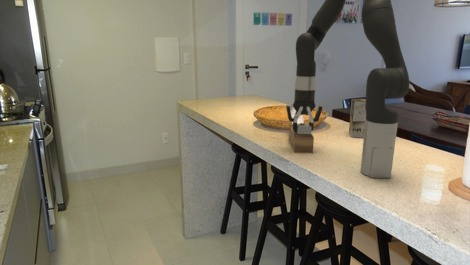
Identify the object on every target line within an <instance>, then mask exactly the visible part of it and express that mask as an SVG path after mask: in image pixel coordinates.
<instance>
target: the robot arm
mask: <svg viewBox="0 0 470 265" xmlns="http://www.w3.org/2000/svg"><path fill="white" fill-rule="evenodd" d="M346 1H347V0H324V2H323V3H322V5H321V7H320V8H319V9H318V11H317V12H316V13H315V14H314V17H313V18H312V20H311V24H310V26H309V28H308V29H307V31H306V32H304V33H301V34H299V35H298V37H297V39H296V43H295V56H296V57H295V58H296V73H295V74H296V75H295V82H294V101H293V103H292V104H290V105H288V104H287V105H285V109H286V114H287V118H288V119H287V120H288V121H289V122H291V123H292V122H293V131H294V132H297V120H298V118H299V116H300V115H303V116H304V115H305V116H307V117H308V119H309V122H308V124H309V125H310V126H312V129H311V132H313V131H314V123H316V122H319V121H320V116H321V114H322V111H323V106H321V105H317V104H316V103H315V99H316V98H315V97H316V88H317V87H316V84H317V82H316V73H317V70H316V69H317V64H316V63H317V62H316V61H315V55H316V54H315V53H316V52H315V51H317V49H318V48H319V47H320V45H321V43H322V42H323V40H324V38H325V37H326V35H327V33H328V31H330V29H331V28H332V27H333V25H334V24H335V23H336V21H337V19H338V18H339V17H340V15H341V14H342V12H343V9H344V7H345V4H346ZM361 21H362V26H363V32H364V35H365V37H366V39H367V40H368V41H369V43H370V44H371V45H372V46H373V47H374V49H375V50H376V51H377V52H378V54H380V56H381V58H382V59H383V63H384V65H385V67H378V68H372V69H371V71H370V72H369V73H368V76H367V79H366V87H365V88H366V89H365V99H366V103H365V110H366V122H365V131H364V138H363V143H362V151H361V161H360V170H359V171H360V173H361V174H363V175H364V176H367V177H369V178H370V179H371V178H372V179H374V178H375V179H378V178H379V179H391V177H392V170H393V165H394V164H393V163H394V154H395V148H396V147H395V146H396V139H397V132H398V125H399V113H398V111H396V110H393V109H390V108H388V107H387V106H386V100H389V99H390V100H393V99H402V98H405V97H406V96H407V94H408V92H409V90H410V76H409V72H408V69H407V65H406V62H405V59H404V56H403V52H402V49H401V45H400V41H399V36H398V30H397V25H396V19H395V14H394V9H393V5H392V0H364V1H363V4H362V9H361ZM293 107H294V109H295V110H296V113H295V116H294V118H292V117H291V111H292V108H293ZM314 109H315V116H314V117H313V114H312V113H313V111H314Z"/></svg>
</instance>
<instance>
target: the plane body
mask: <svg viewBox="0 0 470 265" xmlns="http://www.w3.org/2000/svg"><path fill="white" fill-rule="evenodd" d="M288 136H289V137H288V140H289V142H290V145H291V147H292V150H293V152H294V153H301V154H302V153H303V154H304V153H305V154H306V153H309V154H310V153H311V154H313V153H314V142H315V141H314V139H315V138H314V136H313V134H312V133H311V134H297V133H296V132H294V131H293V125H292V124H290V125H289V135H288Z"/></svg>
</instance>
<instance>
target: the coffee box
mask: <svg viewBox="0 0 470 265" xmlns="http://www.w3.org/2000/svg"><path fill="white" fill-rule="evenodd" d="M365 103H366V98H351V102H350V104H351V106H350V115H349V128H348V129H349V130H348V133H349V135H350V137H351V138H361V139H364V131H365V122H366V110H365Z"/></svg>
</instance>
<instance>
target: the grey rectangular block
mask: <svg viewBox="0 0 470 265" xmlns="http://www.w3.org/2000/svg"><path fill="white" fill-rule="evenodd" d="M311 129H312V126H310V125H309V123H305V122H304V123H300V124H297V132H296V133H297V134H312V131H311Z"/></svg>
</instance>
